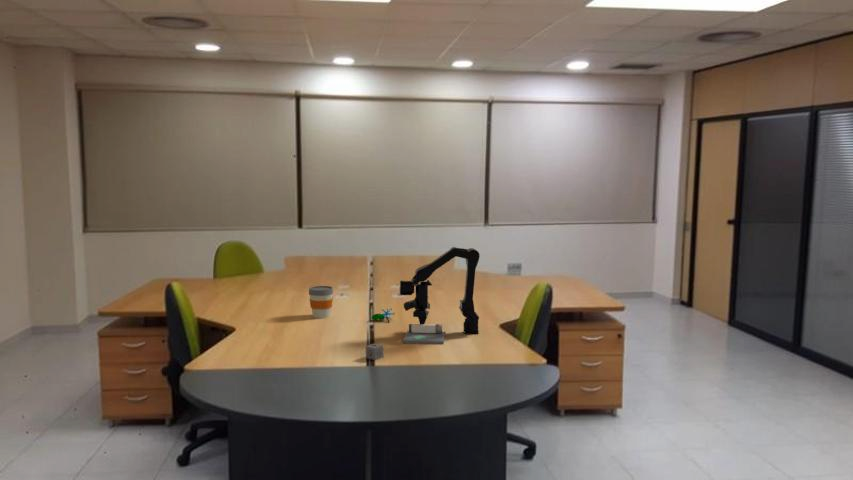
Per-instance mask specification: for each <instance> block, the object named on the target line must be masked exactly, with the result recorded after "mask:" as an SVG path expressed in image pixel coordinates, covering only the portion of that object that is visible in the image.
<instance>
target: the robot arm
mask: <svg viewBox="0 0 853 480" xmlns="http://www.w3.org/2000/svg"><path fill="white" fill-rule="evenodd" d="M456 257H458V258H461V259H465V264H466V273H465V285H464V297H463V299H460V300H459V307H458V308H459V310H460V312H461V314H462V316H463V317H464V321H463V332H464V334H465V335H467V334H470V335H479V331H480V330H479V319H480V316H479V314H478V313H477V312H476V311H475V303H474V289H475V278H476V269H477V266H478V264H479V261H480V253H479V251H478V250H477V249H475V248H474V247H470V248H461V247H456V246H452V247H451V248H450V249H449V250H447V251H446V252H445V253H443V254H441V255H440V256H439V257H437V258H436V259H434V260H433V261H431V262H429V263H427V264H424V265H422V266H421V265H420V266H419V267H418V268H417V269H415V273H414V275H413V277H412V278H411V280H399V296H412V295H413V294H415V296H414V299H412V300H409V301H405V302H404V303H403V308H404V311H409V310H412V309H414V311H412V316H413V317H414V318H418V321H419V324H426V320H427V319H428V316H429V313H430V312H429V311H428V310H430V309H431V303H429V287H431V286H433V284H432V282H431V281H430V280H429V278H430V277H431V276H432V275H433V274H434V272H436V271H437V270H439V268H441V267H442V266H444V265H445V264H446V263H448V262H450V261H452V260H453V259H454V258H456ZM427 309H428V310H427Z"/></svg>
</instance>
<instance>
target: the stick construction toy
mask: <svg viewBox="0 0 853 480" xmlns="http://www.w3.org/2000/svg"><path fill="white" fill-rule="evenodd" d="M392 309H393V308H390V309H388V308H386V311H385V309H383V308H382V309H381V311H382V312H384V313H374V314H373V315H371V320H373V321H377V322H378V323H379V322H380V321H384V320H386V321H387V323H390V320H392V317H390V316H392V315H393V316H395V314H396V313H395V311H393V312H392V313H391V312H390V311H392Z"/></svg>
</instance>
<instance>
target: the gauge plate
mask: <svg viewBox="0 0 853 480" xmlns="http://www.w3.org/2000/svg"><path fill="white" fill-rule="evenodd" d="M446 334H447V333H446V331H442V333H440V334H437V333H414V332H409V330H407V331H406V333H405V336H404V338H403V340H402V343H403V344H425V345H426V344H429V345H430V344H432V345H443V344H444V343H445V340H446Z"/></svg>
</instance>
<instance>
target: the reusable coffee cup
mask: <svg viewBox="0 0 853 480" xmlns="http://www.w3.org/2000/svg"><path fill="white" fill-rule="evenodd" d="M308 294H309V306H310V308H311V311H312V317H313V318H314V319H327V318H329V317H331V312H332V307H333V302H334V300H333V294H334V288H333V287H332V286H329V285H317V286H311V287H309V288H308Z"/></svg>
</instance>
